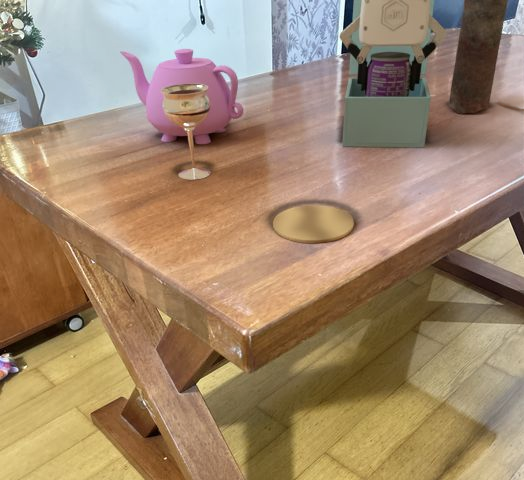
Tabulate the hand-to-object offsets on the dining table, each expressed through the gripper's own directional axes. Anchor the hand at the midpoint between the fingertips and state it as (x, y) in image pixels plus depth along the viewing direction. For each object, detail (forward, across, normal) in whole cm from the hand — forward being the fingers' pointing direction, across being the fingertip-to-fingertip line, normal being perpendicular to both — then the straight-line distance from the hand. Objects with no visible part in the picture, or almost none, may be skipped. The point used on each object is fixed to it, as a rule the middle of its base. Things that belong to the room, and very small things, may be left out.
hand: (387, 88), depth 88 cm
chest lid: (-7, 0, +11) cm, 13 cm away
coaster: (+8, -8, -35) cm, 37 cm away
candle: (+8, +16, +18) cm, 26 cm away
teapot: (+8, -35, 0) cm, 36 cm away
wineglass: (+8, -28, -19) cm, 35 cm away
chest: (+8, 0, +2) cm, 8 cm away
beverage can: (+7, 0, 0) cm, 7 cm away
